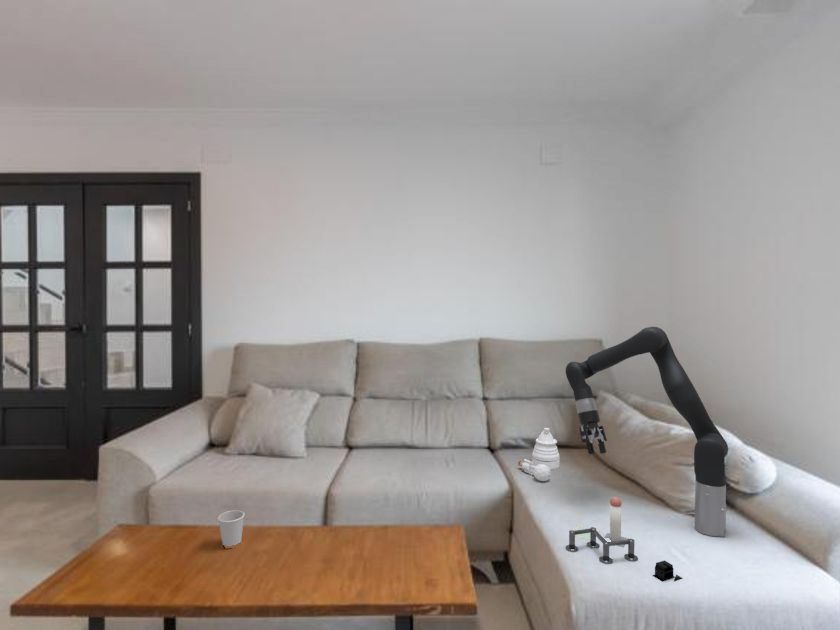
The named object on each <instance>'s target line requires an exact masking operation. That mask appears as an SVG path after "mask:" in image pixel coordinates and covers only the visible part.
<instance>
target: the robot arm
mask: <svg viewBox="0 0 840 630" xmlns="http://www.w3.org/2000/svg"><path fill="white" fill-rule="evenodd" d="M648 353H650V355H651V357H652V358H653V360H654V362H655V363H656V366H657V368H658V372H659V375H660V379H661V384H662V386H663V389H664V392H665V393H666V395H667V397H668V399H669V401H670V403H671V404H672V407H674V408H675V410H676V411H677V412H678V413H679V415H680V416H681V417H682V418H683V419H684V420H686V423H687V424H688V425H689V426H690V428H691V431H692V432H693V435H694V436H695V438H696V441H697V442H696V443H695V445H694V448H693V449H694V451H693V470H694V474H695V475H694V477H695V483H694V484H695V486H694V491H695V492H694V529H695V530H696V531H697V532H698V533H700V534H703V535H706V536H710V537H720V538H721V537H722V538H724V537H725V534H726V529H727V528H726V527H727V524H726V522H727V504H726V503H727V502H726V501H727V475H726V473H725V472H726V471H725V470H726V468H725V467H726V466H725V465H726V463H725V462H726V457H727V456H728V453H729V447H728V443H727V441H726V439H725V438H724V437H723V435H722V434H721V432H720V431H719V429H718V428H717V426H716V425H715V423H714V422H713V420H712V419H711V417H710V415H709V413H708V411H707V409H706V407H705V405H704V403H703V402H702V399H701V398H700V395H699V393H698V391H697V390H696V388H695V386H694V383H692V381H691V379H690V378H689V376H688V374H687V373H686V370H685V368H684V367H683V366H682V364H681V363H680V360H678V358H677V356H676V354H675V351H674V350H673V347H672V344H671V342H670V340H669V337H668V335H667V333H666V332H665V330H664V329H662V328H660V327H658V326H649V327H644V328H643V329H641V330H640V331H639V332H636V334H634V335H633V336H631V337H630V338H628V339H626V340H624V341H622V342H621V343H619V344H618V343H617V344H616V345H613V346H610V347H607V348H605V349H603V350H600V351H598V352H596V353H594V354H591V355H590V356H588V357H587V359H586V360H585V361H581V362H578V361H570V362H568V363H567V365H566V366H565V375H566V379H567V381H568V383H569V386H570V388H571V390H572V392H573V396H574V400H575V407H576V413H577V416H578V420H579V423H580V425H581V426H579V427H578V429H579V434H580V439H581V442H582V443H584V444H585V445H586V448H587V452H588V454H589V455H593V454H595V448H594V447H595V446H594V444H593V440H595V441H596V442H597V443H598V444H597V446H598V449H599V452H600V454H606V453H607V449H606V444H605V443H606V442H607V440H608V439H607V436H606V433H605V428H604V426H603V425H598V423H600V422H601V419H600V416H599V411H598V407H597V403H596V401H595V398H594V394H593V390H592V388H591V386H590V385H589V384H588V383H587V382H586V380H587V379H589V378H591V377H593V376H595V374H597V373H599V372H601V371H604V370H607V369H609V368H611V367H614V366H616V365H618V364H620V363H621V362H623V361H625V360H628V359H630V358H632V357H635V356H639V355H644V354H648Z"/></svg>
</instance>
